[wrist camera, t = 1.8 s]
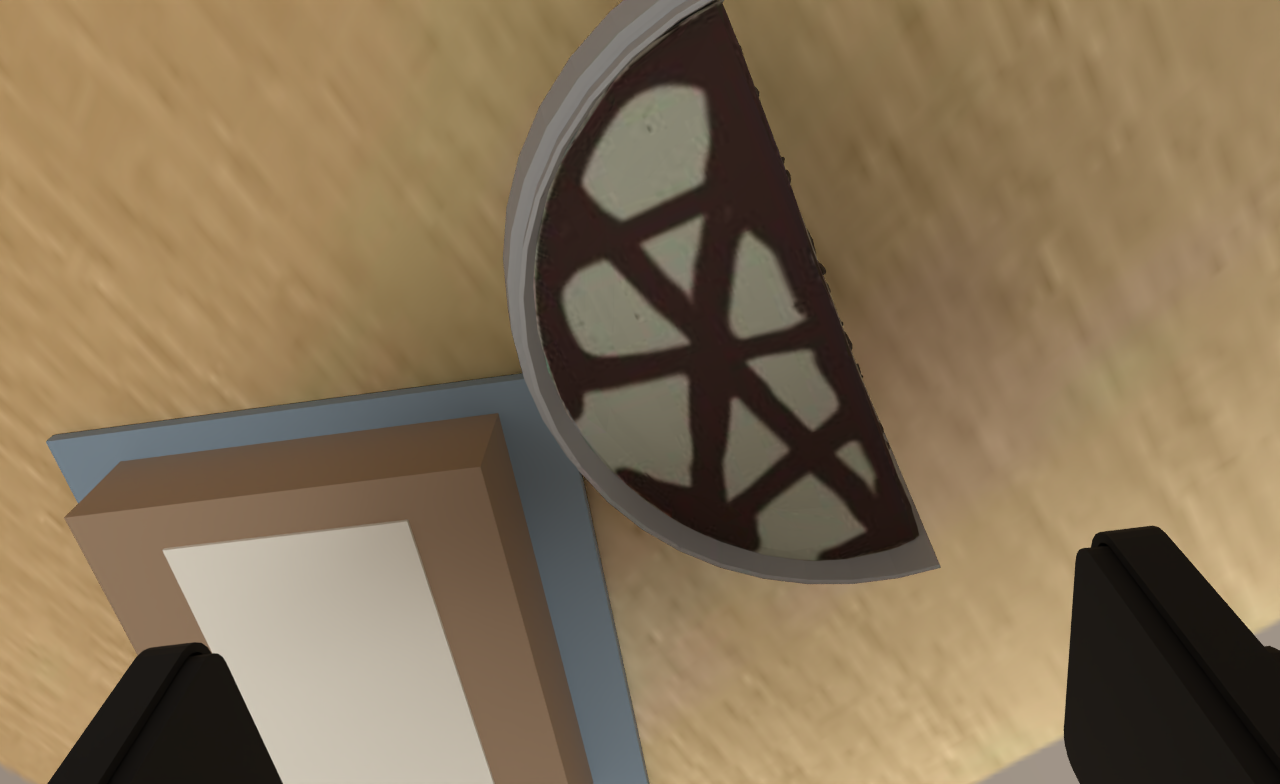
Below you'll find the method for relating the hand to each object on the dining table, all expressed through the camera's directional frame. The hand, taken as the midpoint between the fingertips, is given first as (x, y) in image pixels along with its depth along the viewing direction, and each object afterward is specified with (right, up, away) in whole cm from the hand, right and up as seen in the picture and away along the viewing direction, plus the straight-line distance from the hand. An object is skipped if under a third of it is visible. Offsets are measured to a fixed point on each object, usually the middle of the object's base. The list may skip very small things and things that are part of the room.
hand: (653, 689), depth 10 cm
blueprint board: (-9, -5, +22) cm, 24 cm away
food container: (+1, +8, +15) cm, 17 cm away
